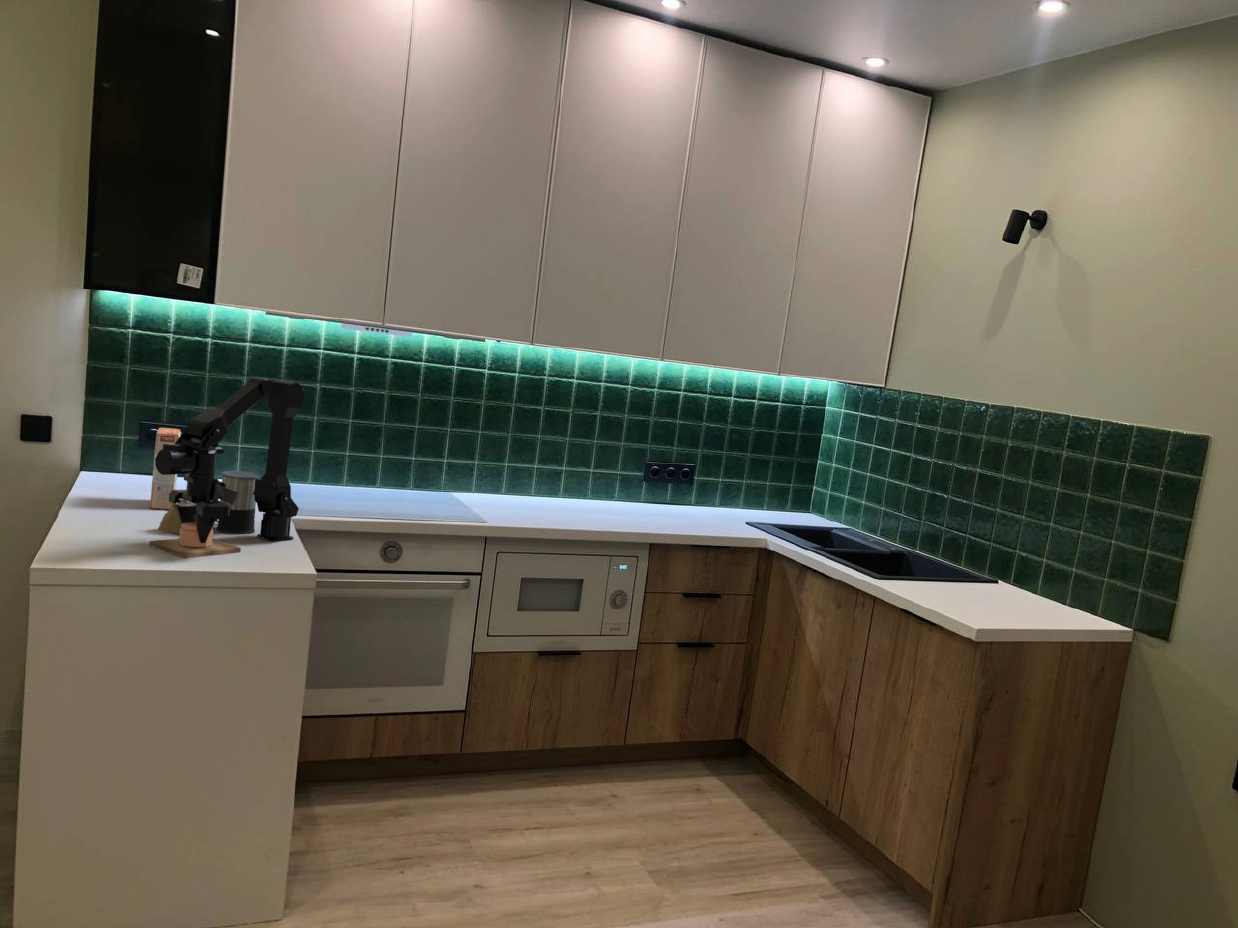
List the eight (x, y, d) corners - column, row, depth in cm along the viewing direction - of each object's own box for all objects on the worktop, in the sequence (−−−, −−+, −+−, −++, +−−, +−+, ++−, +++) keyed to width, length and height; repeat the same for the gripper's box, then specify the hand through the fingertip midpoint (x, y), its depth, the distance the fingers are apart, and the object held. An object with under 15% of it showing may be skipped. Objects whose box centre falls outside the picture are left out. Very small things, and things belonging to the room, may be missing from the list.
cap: (184, 547, 224) (185, 527, 224) (176, 540, 230) (178, 521, 229) (214, 546, 228) (216, 527, 228) (206, 540, 234) (208, 521, 233)
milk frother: (260, 534, 253) (265, 477, 252) (196, 535, 243) (201, 476, 241) (240, 523, 264) (244, 468, 262) (178, 523, 253) (182, 466, 252)
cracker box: (173, 510, 268) (179, 434, 266) (149, 509, 266) (154, 432, 264) (175, 501, 281) (181, 428, 279) (152, 500, 279) (158, 426, 277)
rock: (215, 528, 243) (204, 514, 251) (196, 501, 239) (186, 488, 246) (175, 553, 239) (165, 539, 247) (155, 527, 235) (145, 513, 242)
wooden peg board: (203, 539, 239) (204, 523, 238) (240, 551, 231) (241, 535, 231) (149, 545, 227) (150, 528, 226) (186, 558, 220) (187, 540, 219)
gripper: (254, 479, 227) (248, 546, 229) (216, 466, 239) (211, 529, 241) (206, 480, 219) (201, 549, 220) (170, 466, 231) (165, 531, 233)
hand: (195, 539), depth 229 cm, fingers closed on cap, 7 cm apart
